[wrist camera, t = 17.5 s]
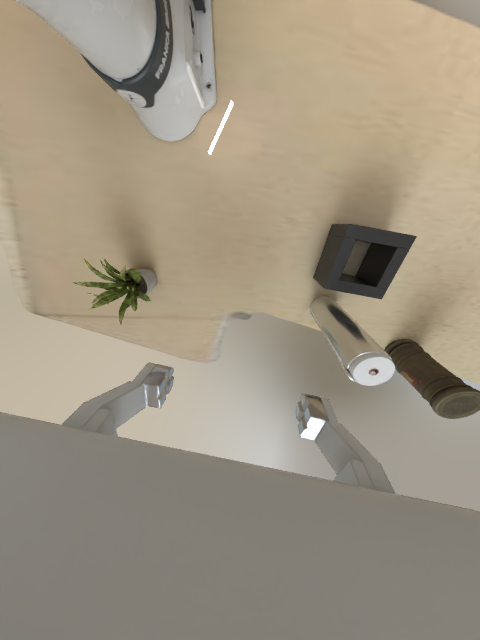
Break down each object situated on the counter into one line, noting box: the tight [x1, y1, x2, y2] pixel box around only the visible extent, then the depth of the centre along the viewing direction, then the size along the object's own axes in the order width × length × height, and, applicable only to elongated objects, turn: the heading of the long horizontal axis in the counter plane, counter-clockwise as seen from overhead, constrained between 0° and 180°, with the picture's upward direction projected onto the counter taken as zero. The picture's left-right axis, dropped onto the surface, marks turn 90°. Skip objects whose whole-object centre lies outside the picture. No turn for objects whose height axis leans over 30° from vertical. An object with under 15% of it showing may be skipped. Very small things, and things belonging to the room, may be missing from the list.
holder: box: [313, 224, 417, 299], centre depth 39 cm, size 12×12×9 cm
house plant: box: [75, 259, 157, 324], centre depth 42 cm, size 14×14×16 cm
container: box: [385, 339, 480, 419], centre depth 45 cm, size 9×9×18 cm
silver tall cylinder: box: [310, 296, 395, 386], centre depth 38 cm, size 6×6×25 cm
